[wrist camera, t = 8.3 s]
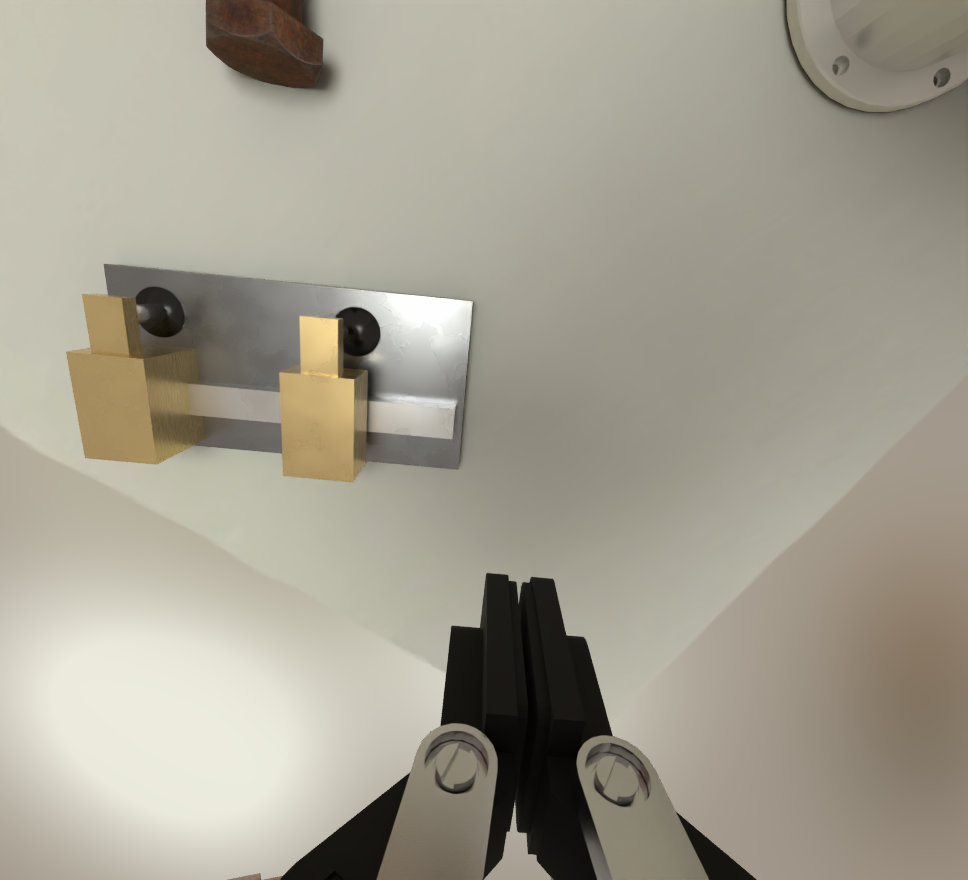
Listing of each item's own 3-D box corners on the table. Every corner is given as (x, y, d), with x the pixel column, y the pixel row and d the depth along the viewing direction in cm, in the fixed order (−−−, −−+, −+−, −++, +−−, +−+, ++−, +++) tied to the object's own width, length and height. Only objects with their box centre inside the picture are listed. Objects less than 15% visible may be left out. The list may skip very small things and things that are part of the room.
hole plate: (473, 300, 29) (470, 303, 24) (459, 463, 33) (453, 499, 27) (118, 264, 29) (29, 258, 23) (141, 434, 32) (68, 464, 26)
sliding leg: (373, 317, 28) (354, 322, 24) (369, 457, 30) (353, 482, 27) (306, 310, 28) (276, 314, 24) (309, 452, 30) (283, 475, 26)
